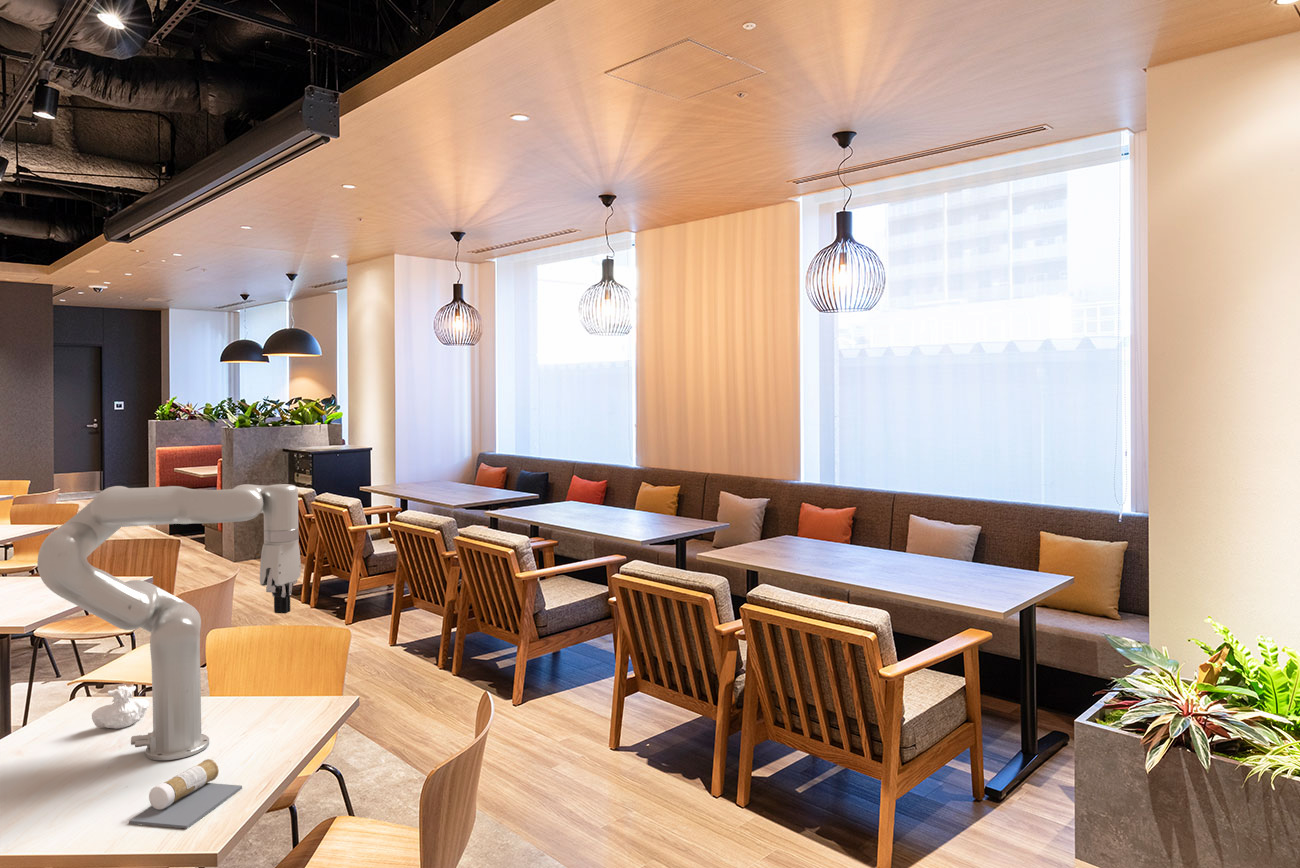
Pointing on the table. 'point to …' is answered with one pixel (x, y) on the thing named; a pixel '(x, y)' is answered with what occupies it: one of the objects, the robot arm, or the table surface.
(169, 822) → the mat
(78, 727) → the table surface
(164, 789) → the sprinkles bottle
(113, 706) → the white tied bag
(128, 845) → the table surface
